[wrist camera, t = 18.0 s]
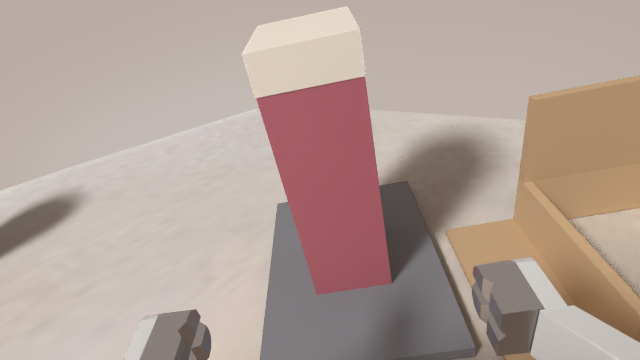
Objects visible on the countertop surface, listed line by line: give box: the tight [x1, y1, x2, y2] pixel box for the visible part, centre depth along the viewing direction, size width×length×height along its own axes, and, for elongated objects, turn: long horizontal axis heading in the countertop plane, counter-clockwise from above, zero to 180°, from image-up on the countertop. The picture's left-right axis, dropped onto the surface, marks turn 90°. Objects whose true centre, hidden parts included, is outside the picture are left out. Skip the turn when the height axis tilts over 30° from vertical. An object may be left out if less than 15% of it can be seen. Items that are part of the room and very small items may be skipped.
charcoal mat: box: [260, 181, 476, 360], centre depth 27 cm, size 12×16×1 cm
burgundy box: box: [241, 6, 392, 295], centre depth 22 cm, size 5×6×16 cm
